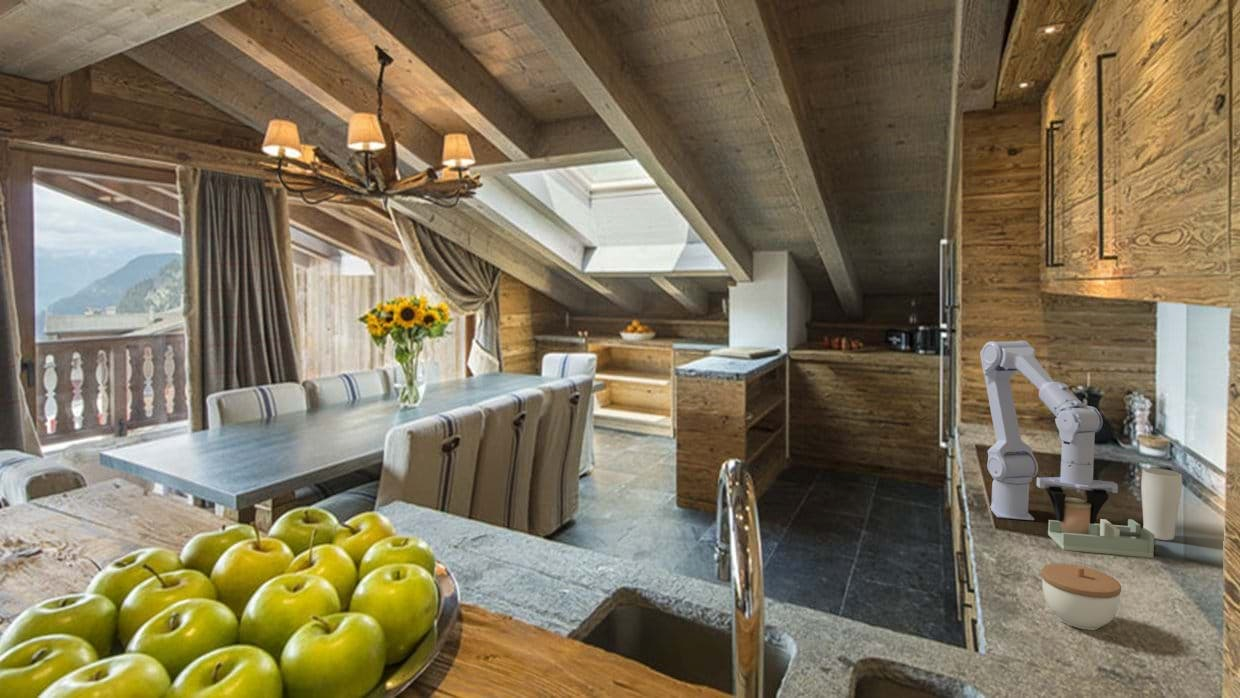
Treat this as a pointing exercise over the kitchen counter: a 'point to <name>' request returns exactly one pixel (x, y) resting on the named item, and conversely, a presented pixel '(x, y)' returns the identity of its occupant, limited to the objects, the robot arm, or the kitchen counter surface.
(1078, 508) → the jar
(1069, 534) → the pale green shallow tray
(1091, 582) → the lidded jar
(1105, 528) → the pusher
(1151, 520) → the drinking glass
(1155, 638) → the kitchen counter surface
